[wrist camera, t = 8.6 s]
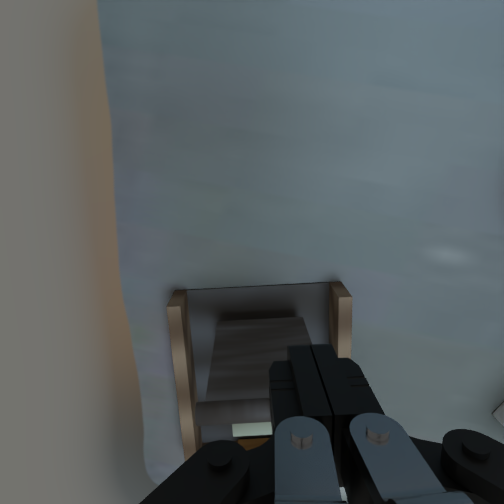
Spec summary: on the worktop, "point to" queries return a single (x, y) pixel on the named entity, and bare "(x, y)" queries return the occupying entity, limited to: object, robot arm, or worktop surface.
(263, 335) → the grey l-shaped piece
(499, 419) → the syrup box
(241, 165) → the worktop surface
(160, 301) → the worktop surface
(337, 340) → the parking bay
